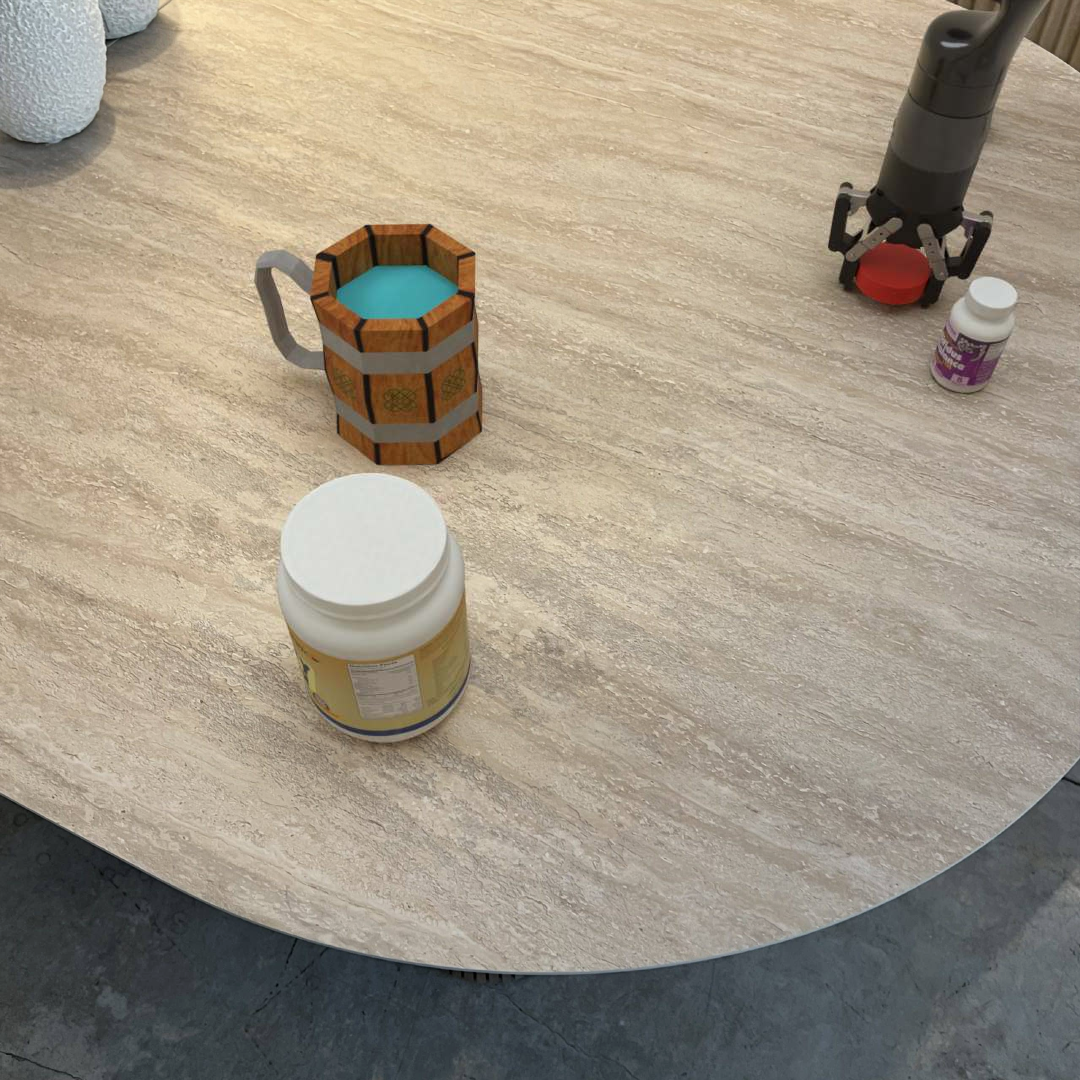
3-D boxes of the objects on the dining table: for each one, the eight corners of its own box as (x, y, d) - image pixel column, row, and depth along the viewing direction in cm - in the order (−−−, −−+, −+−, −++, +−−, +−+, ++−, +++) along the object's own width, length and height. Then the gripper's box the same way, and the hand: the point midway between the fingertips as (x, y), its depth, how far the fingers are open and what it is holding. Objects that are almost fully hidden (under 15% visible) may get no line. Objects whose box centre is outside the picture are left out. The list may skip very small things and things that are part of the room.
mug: (511, 379, 103) (508, 243, 91) (450, 487, 95) (439, 354, 83) (315, 324, 107) (288, 188, 95) (242, 424, 99) (202, 288, 87)
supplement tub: (298, 621, 87) (256, 476, 73) (456, 592, 89) (442, 445, 75) (316, 765, 80) (273, 634, 66) (487, 730, 81) (479, 596, 68)
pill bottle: (916, 371, 104) (947, 288, 96) (953, 345, 106) (986, 261, 98) (964, 404, 101) (1000, 322, 93) (1001, 377, 103) (1039, 294, 96)
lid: (927, 308, 106) (933, 292, 105) (855, 301, 107) (860, 284, 105) (923, 262, 110) (929, 245, 109) (853, 255, 111) (858, 238, 109)
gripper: (844, 151, 96) (804, 302, 109) (1019, 185, 93) (957, 336, 107) (857, 102, 100) (818, 254, 113) (1026, 134, 98) (965, 285, 111)
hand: (886, 293), depth 110 cm, fingers closed on lid, 6 cm apart
